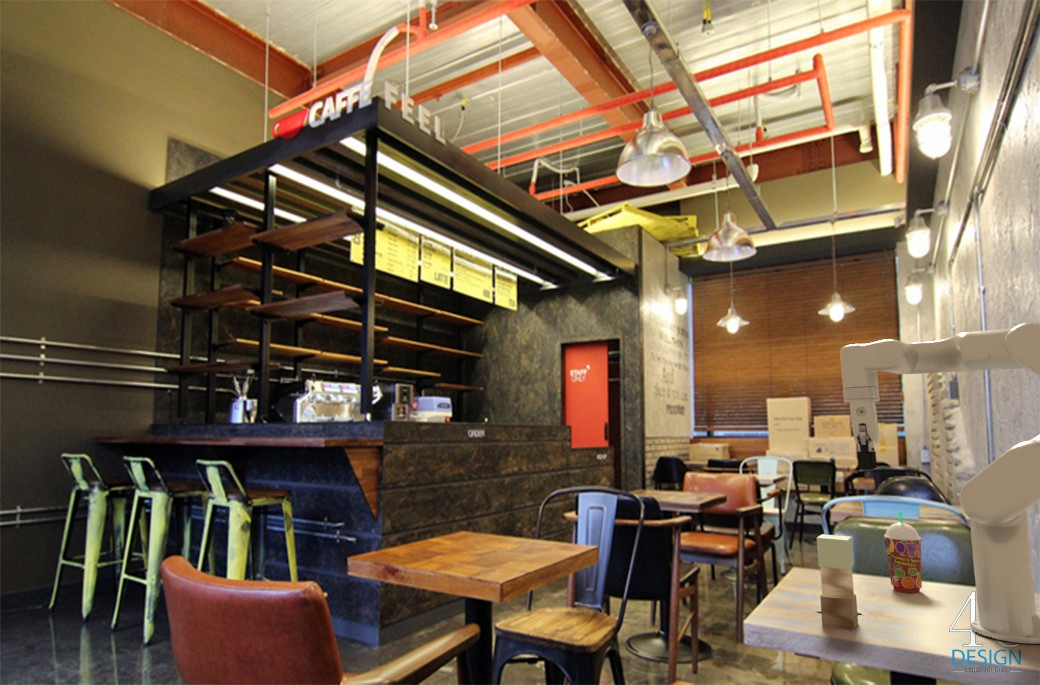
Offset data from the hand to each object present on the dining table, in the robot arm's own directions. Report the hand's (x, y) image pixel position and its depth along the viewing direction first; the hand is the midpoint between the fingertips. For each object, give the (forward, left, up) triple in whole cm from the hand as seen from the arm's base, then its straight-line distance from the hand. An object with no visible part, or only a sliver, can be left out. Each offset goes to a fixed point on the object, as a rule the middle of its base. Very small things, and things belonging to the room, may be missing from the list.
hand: (868, 468), depth 149 cm
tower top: (+6, +15, -26) cm, 31 cm away
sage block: (+6, +15, -20) cm, 26 cm away
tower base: (+6, +15, -32) cm, 36 cm away
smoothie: (-3, -28, -32) cm, 43 cm away
